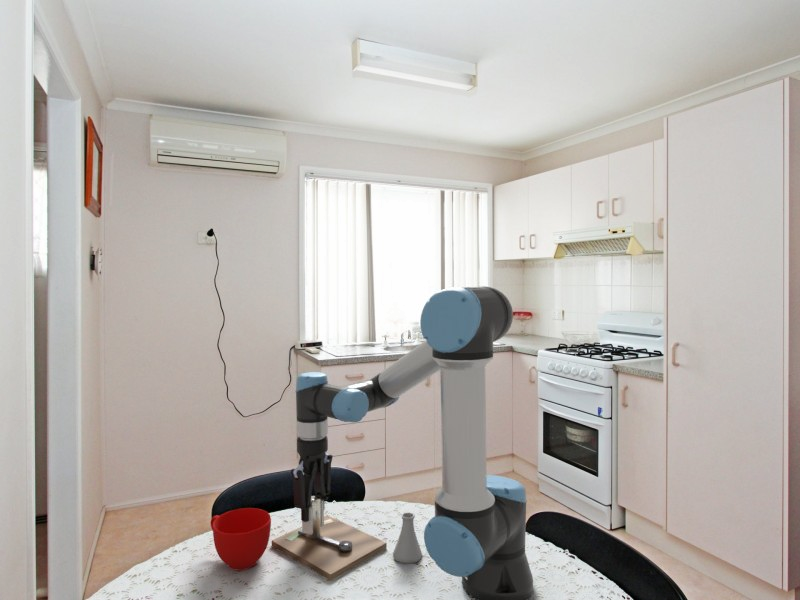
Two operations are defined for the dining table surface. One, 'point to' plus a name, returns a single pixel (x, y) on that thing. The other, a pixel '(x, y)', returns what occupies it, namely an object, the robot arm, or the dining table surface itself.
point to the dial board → (330, 548)
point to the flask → (407, 542)
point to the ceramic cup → (241, 536)
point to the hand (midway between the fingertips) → (313, 528)
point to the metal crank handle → (315, 503)
